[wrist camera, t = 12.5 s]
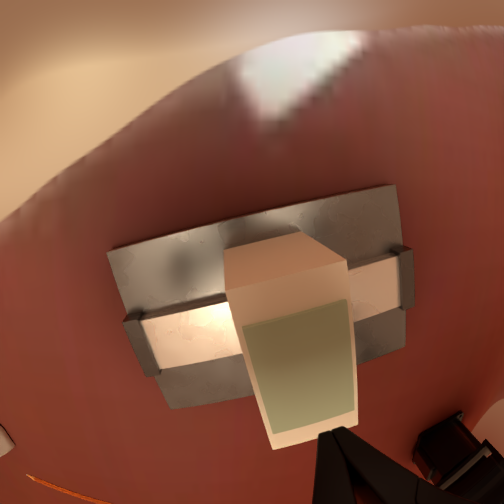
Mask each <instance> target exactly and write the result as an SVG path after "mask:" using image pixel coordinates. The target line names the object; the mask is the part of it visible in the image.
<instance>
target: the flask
mask: <svg viewBox="0 0 504 504" xmlns="http://www.w3.org/2000/svg"><path fill="white" fill-rule="evenodd" d="M14 446H15V445H14V443H13V442H12V440H11V439H10V437H9V436H8V434H7V433H6V431H5V430H4V429H3V428H2V427H1V426H0V457H1V456H3V455H4V454H6V453H8V452H9V451H10V450H11V449H12V448H13V447H14Z"/></svg>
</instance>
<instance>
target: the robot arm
mask: <svg viewBox="0 0 504 504" xmlns="http://www.w3.org/2000/svg"><path fill="white" fill-rule="evenodd" d="M463 415H464V413H463V412H462V411H460V412H458V413H457V414H455V415H454V416H452V417H450V418H449V419H447V420H445V421H443V422H442V423H440V424H438V425H436V426H435V427H433V428H431V429H429V430H427V431H425V432H423V433H422V434H421V435H420V436H419V439H418V443H417V447H416V450H415V454H414V458H413V461H412V462H413V463H414V464H416V465H417V467H418V468H419V470H420V471H421V473H422V474H423V476H424V477H425V479H426V480H428V481H429V480H430V479H431V481H432V482H433V484H434V485H432V484H431V483H429V482H427V481H426V480H424V479H422V478H419V477H418V476H417V475H416V474H414V473H412V472H411V471H409V470H408V469H406V468H404V467H403V466H401V465H400V464H398V463H397V462H395V461H394V460H392V459H391V458H389V457H388V456H386V455H385V454H383V453H382V452H380V451H379V450H377V449H376V448H374V447H373V446H371V445H370V444H368V443H367V442H366V441H364V440H363V439H361V438H360V437H358V436H357V435H356V434H354V433H353V432H351V431H350V430H349V429H347V428H346V427H344V426H340V427H337V428H334V429H332V430H331V431H330V430H328V431H325V432H322V433H319V434H318V442H317V456H316V468H315V479H314V489H313V499H312V504H504V458H503V457H502V455H501V454H499V452H498V451H497V450H496V449H495V448H494V447H493V446H492V445H491V444H490V443H489V442H488V441H487V439H485V440H484V441H483V443H482V444H481V443H480V442H479V441H478V440H477V439H476V438H475V437H474V435H473V434H472V433H471V432H470V431H469V430H468V429H467V428H466V427H465V425H464V424H463V423H462V422H461V421H462V418H463ZM490 453H492V454H491V455H490V456H489V457H487V455H489V454H490Z"/></svg>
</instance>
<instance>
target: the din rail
mask: <svg viewBox="0 0 504 504" xmlns="http://www.w3.org/2000/svg"><path fill="white" fill-rule="evenodd" d="M300 231H301V232H303V233H305V234H306V235H308V236H310V237H311V238H313V239H314V240H316V241H318V242H319V243H321V244H322V245H324V246H326V247H327V248H329V249H330V250H332V251H333V252H335V253H337V254H338V255H340V256H341V257H343V258H344V259H346V260H347V268H348V276H349V284H350V293H351V302H352V312H353V324H354V336H355V350H356V365H358V364H361V363H364V362H366V361H369V360H372V359H374V358H377V357H380V356H382V355H385V354H387V353H390V352H392V351H395V350H397V349H400V348H402V347H404V346H405V337H406V309H409V308H411V307H414V306H415V284H414V259H413V249H411V248H409V247H406V246H403V241H402V231H401V221H400V213H399V205H398V198H397V191H396V184H385V185H380V186H374V187H369V188H364V189H359V190H354V191H349V192H344V193H339V194H334V195H329V196H325V197H320V198H315V199H310V200H306V201H301V202H296V203H292V204H287V205H283V206H278V207H274V208H270V209H265V210H261V211H257V212H252V213H248V214H244V215H240V216H235V217H231V218H227V219H223V220H219V221H215V222H211V223H207V224H203V225H199V226H195V227H191V228H187V229H183V230H179V231H175V232H172V233H168V234H164V235H160V236H157V237H153V238H149V239H145V240H142V241H138V242H134V243H131V244H127V245H124V246H120V247H116V248H113V249H111V250H109V251H108V252H106V253H107V256H108V259H109V263H110V266H111V269H112V272H113V275H114V278H115V281H116V284H117V287H118V289H119V292H120V295H121V298H122V301H123V303H124V306H125V309H126V311H127V316H126V317H125V319H124V320H123V322H122V324H123V326H124V328H125V331H126V333H127V336H128V338H129V340H130V343H131V345H132V347H133V350H134V352H135V354H136V356H137V358H138V361H139V363H140V365H141V367H142V369H143V371H144V373H145V376H146V377H151V376H154V377H155V379H156V381H157V383H158V385H159V387H160V389H161V391H162V393H163V395H164V397H165V399H166V401H167V403H168V405H169V407H170V409H178V408H185V407H192V406H198V405H204V404H210V403H216V402H221V401H226V400H231V399H236V398H241V397H246V396H250V395H255V393H254V390H253V386H252V383H251V380H250V377H249V373H248V370H247V367H246V363H245V360H244V356H243V353H242V350H241V346H240V343H239V339H238V336H237V332H236V329H235V325H234V322H233V318H232V315H231V311H230V308H229V304H228V300H227V297H226V293H225V281H224V252H223V250H225V249H229V248H233V247H237V246H242V245H246V244H250V243H254V242H258V241H262V240H266V239H271V238H275V237H279V236H283V235H287V234H291V233H296V232H300Z"/></svg>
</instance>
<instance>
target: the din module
mask: <svg viewBox="0 0 504 504" xmlns="http://www.w3.org/2000/svg"><path fill="white" fill-rule="evenodd" d="M223 252H224V281H225V293H226V297H227V300H228V304H229V308H230V311H231V315H232V318H233V322H234V325H235V329H236V332H237V336H238V339H239V343H240V346H241V350H242V353H243V356H244V360H245V363H246V367H247V370H248V373H249V377H250V380H251V383H252V386H253V390H254V393H255V396H256V399H257V403H258V406H259V409H260V412H261V415H262V418H263V422H264V425H265V428H266V431H267V434H268V437H269V440H270V443H271V446H272V449H273V450H275V449H279V448H283V447H287V446H291V445H295V444H299V443H302V442H306V441H309V440H313V439H316V438H318V434H319V433H322V432H325V431H328V430H330V431H331V430H332V429H334V428H337V427H340V426H344V427H346V428H350V427H352V426H355V425H358V394H357V368H356V350H355V336H354V324H353V312H352V302H351V293H350V284H349V276H348V268H347V260H346V259H344V258H343V257H341V256H340V255H338V254H337V253H335V252H333V251H332V250H330V249H329V248H327V247H326V246H324V245H322V244H321V243H319V242H318V241H316V240H314V239H313V238H311V237H310V236H308V235H306V234H305V233H303V232H301V231H300V232H296V233H291V234H287V235H283V236H279V237H275V238H271V239H266V240H262V241H258V242H254V243H250V244H246V245H242V246H237V247H233V248H229V249H225V250H223Z"/></svg>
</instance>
